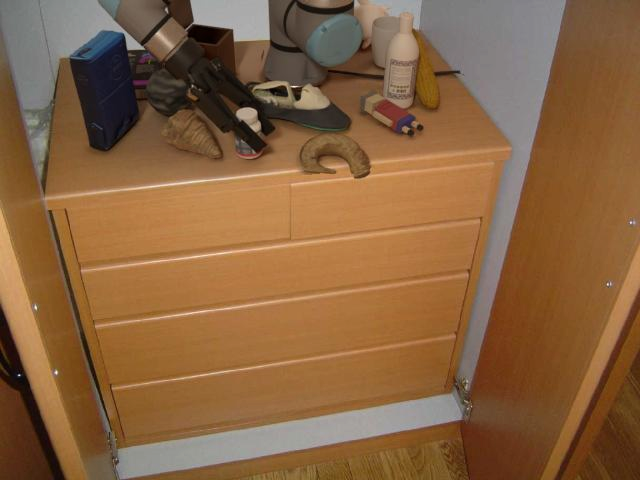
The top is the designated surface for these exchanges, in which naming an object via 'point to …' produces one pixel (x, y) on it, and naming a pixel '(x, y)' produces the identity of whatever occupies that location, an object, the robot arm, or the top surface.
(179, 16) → the lid
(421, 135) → the top surface
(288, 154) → the top surface
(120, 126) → the blue rectangular carton
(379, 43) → the mug
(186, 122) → the seashell
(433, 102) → the food
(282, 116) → the ballet flat
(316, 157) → the artifact
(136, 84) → the box
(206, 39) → the chest
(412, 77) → the bath foam
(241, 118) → the pill bottle
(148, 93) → the decorative stone
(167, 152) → the top surface
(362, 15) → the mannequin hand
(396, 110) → the toy
